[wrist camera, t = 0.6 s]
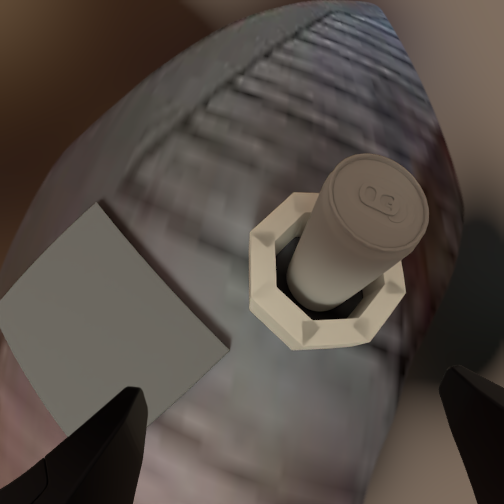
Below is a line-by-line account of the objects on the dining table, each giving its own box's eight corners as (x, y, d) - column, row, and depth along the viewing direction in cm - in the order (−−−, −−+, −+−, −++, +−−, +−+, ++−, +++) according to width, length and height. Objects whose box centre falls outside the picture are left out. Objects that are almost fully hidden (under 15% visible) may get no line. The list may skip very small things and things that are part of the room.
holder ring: (401, 278, 23) (426, 262, 19) (322, 378, 20) (339, 379, 17) (309, 196, 25) (319, 168, 22) (219, 281, 23) (215, 263, 19)
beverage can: (335, 323, 22) (422, 274, 11) (274, 297, 22) (307, 222, 11) (355, 265, 23) (436, 180, 12) (298, 240, 24) (342, 134, 13)
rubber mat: (229, 350, 21) (229, 349, 20) (99, 467, 17) (95, 469, 16) (100, 206, 25) (96, 202, 24) (-3, 312, 21) (-8, 310, 20)
